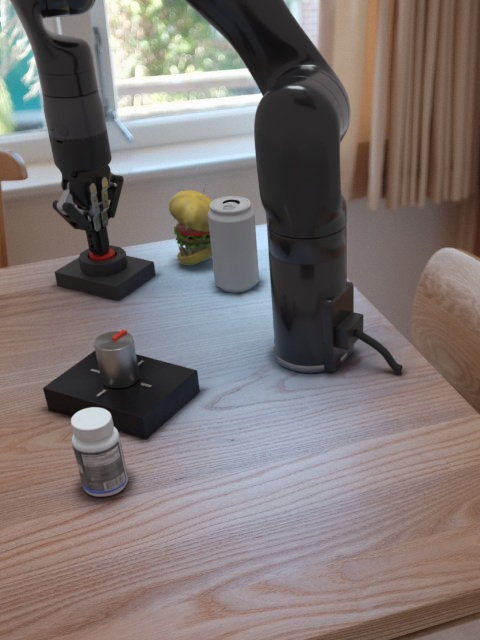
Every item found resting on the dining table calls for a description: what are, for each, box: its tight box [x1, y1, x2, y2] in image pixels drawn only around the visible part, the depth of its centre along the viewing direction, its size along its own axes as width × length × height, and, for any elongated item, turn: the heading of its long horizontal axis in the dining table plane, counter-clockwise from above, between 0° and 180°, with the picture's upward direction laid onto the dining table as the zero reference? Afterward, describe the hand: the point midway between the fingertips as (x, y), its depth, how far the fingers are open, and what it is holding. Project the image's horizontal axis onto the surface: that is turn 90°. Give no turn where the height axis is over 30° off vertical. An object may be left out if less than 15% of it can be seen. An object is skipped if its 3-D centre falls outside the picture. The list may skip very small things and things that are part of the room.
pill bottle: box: [70, 407, 129, 498], centre depth 93 cm, size 5×5×8 cm
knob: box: [93, 329, 140, 388], centre depth 104 cm, size 4×4×5 cm
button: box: [89, 248, 115, 261], centre depth 130 cm, size 4×4×2 cm
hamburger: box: [168, 183, 213, 266], centre depth 133 cm, size 8×7×12 cm
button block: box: [54, 244, 157, 302], centre depth 131 cm, size 11×9×4 cm
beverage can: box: [208, 195, 260, 294], centre depth 127 cm, size 6×6×12 cm
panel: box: [42, 350, 201, 440], centre depth 107 cm, size 14×11×3 cm
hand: (100, 253), depth 130 cm, fingers closed
